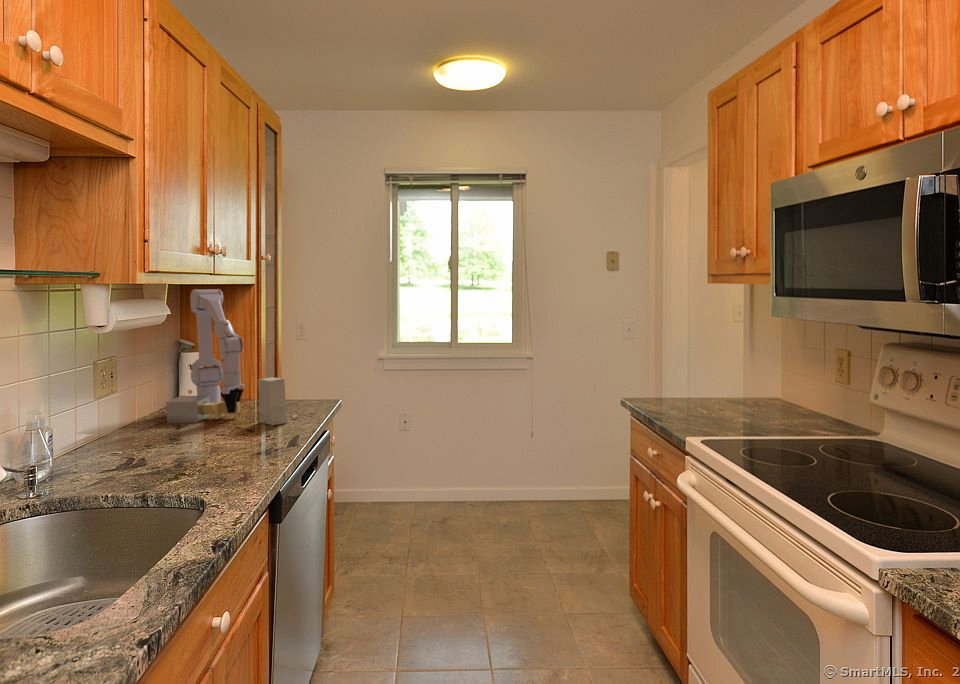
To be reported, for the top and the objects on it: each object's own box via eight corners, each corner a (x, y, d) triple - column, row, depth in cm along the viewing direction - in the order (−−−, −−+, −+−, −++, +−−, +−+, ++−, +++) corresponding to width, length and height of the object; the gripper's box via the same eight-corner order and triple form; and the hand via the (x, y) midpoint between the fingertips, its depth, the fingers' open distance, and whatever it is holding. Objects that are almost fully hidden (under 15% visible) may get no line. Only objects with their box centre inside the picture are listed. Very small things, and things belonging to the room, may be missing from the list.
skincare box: (287, 423, 216) (286, 378, 215) (270, 426, 212) (268, 380, 211) (275, 419, 222) (274, 376, 221) (258, 422, 218) (257, 378, 217)
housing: (181, 415, 229) (180, 395, 228) (210, 415, 230) (210, 395, 229) (167, 423, 217) (166, 402, 217) (198, 422, 218) (197, 401, 217)
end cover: (197, 415, 226) (196, 401, 226) (241, 415, 227) (241, 400, 227) (190, 419, 220) (189, 404, 220) (236, 418, 221) (236, 404, 221)
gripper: (237, 374, 216) (238, 415, 217) (249, 369, 230) (251, 407, 232) (215, 375, 215) (216, 415, 217) (229, 369, 230) (230, 407, 231)
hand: (233, 411), depth 224 cm, fingers closed on end cover, 3 cm apart
